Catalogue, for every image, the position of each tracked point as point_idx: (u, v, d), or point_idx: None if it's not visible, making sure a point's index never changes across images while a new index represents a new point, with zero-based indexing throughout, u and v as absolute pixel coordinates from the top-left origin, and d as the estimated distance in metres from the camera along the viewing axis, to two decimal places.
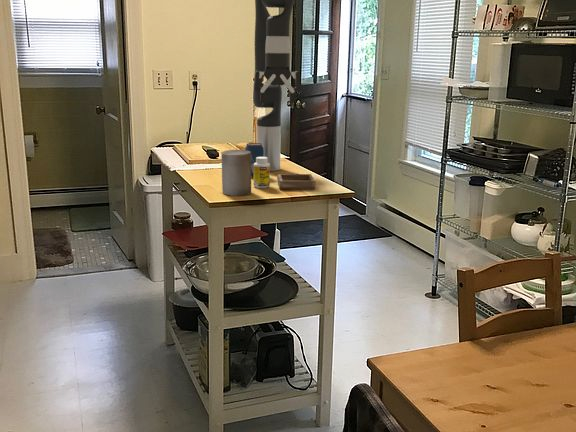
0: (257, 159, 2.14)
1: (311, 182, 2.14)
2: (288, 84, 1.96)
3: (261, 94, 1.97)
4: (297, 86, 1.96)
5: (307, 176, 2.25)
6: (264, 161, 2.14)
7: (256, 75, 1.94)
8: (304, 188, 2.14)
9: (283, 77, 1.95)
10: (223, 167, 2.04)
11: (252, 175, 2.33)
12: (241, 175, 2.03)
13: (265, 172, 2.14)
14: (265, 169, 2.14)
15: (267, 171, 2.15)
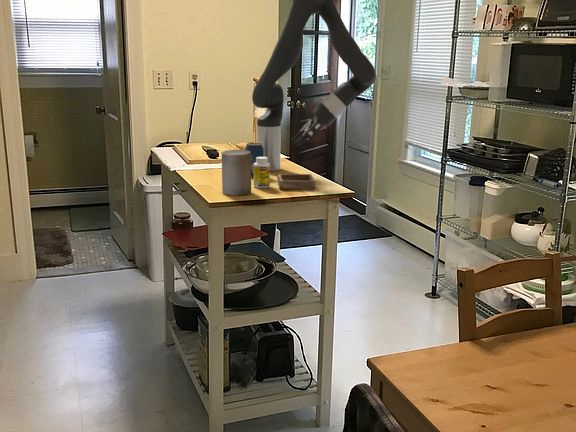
0: (257, 159, 2.14)
1: (311, 182, 2.14)
2: None
3: None
4: None
5: (307, 176, 2.25)
6: (264, 161, 2.14)
7: (319, 129, 2.08)
8: (304, 188, 2.14)
9: None
10: (223, 167, 2.04)
11: (252, 175, 2.33)
12: (241, 175, 2.03)
13: (265, 172, 2.14)
14: (265, 169, 2.14)
15: (267, 171, 2.15)
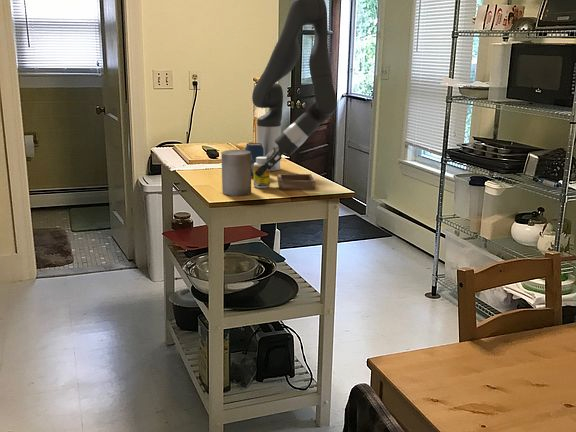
0: (257, 159, 2.14)
1: (311, 182, 2.14)
2: None
3: None
4: None
5: (307, 176, 2.25)
6: (264, 161, 2.14)
7: (278, 160, 2.10)
8: (304, 188, 2.14)
9: None
10: (223, 167, 2.04)
11: (252, 175, 2.33)
12: (241, 175, 2.03)
13: (265, 172, 2.14)
14: None
15: (267, 171, 2.15)
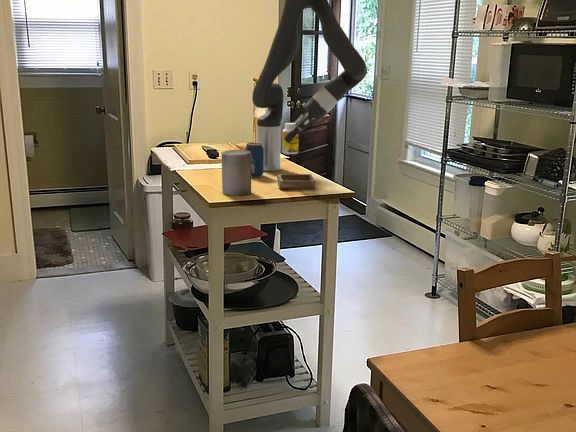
0: (286, 125, 2.13)
1: (311, 182, 2.14)
2: None
3: None
4: None
5: (307, 176, 2.25)
6: (293, 127, 2.12)
7: (308, 125, 2.08)
8: (304, 188, 2.14)
9: None
10: (223, 167, 2.04)
11: (252, 175, 2.33)
12: (241, 175, 2.03)
13: (294, 138, 2.13)
14: None
15: (296, 137, 2.13)
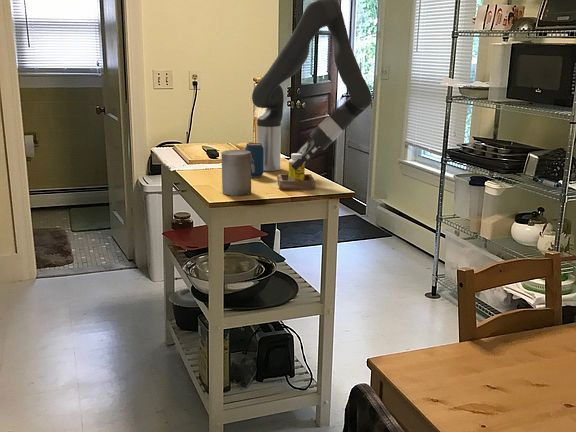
0: (292, 155, 2.16)
1: (311, 182, 2.14)
2: None
3: None
4: None
5: (307, 176, 2.25)
6: (299, 158, 2.16)
7: (315, 153, 2.11)
8: (304, 188, 2.14)
9: None
10: (223, 167, 2.04)
11: (252, 175, 2.33)
12: (241, 175, 2.03)
13: (300, 169, 2.16)
14: (301, 166, 2.16)
15: (302, 168, 2.16)
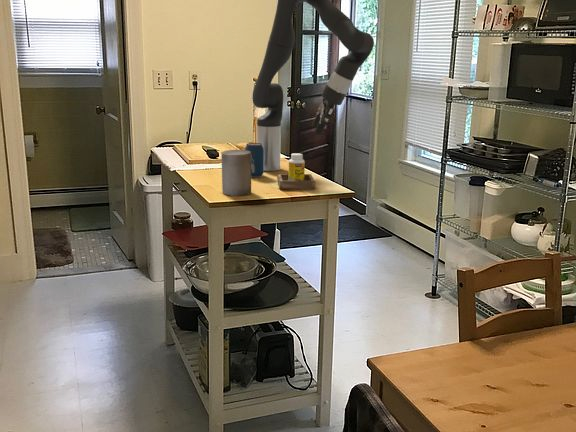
0: (292, 156, 2.16)
1: (311, 182, 2.14)
2: None
3: None
4: None
5: (307, 176, 2.25)
6: (299, 158, 2.16)
7: None
8: (304, 188, 2.14)
9: None
10: (223, 167, 2.04)
11: (252, 175, 2.33)
12: (241, 175, 2.03)
13: (300, 169, 2.16)
14: (300, 166, 2.16)
15: (302, 168, 2.16)
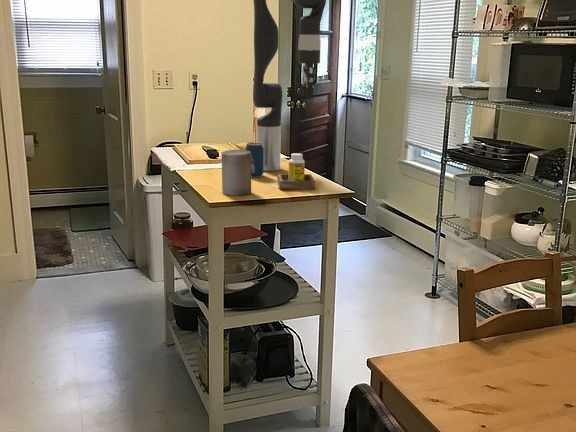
0: (292, 156, 2.16)
1: (311, 182, 2.14)
2: None
3: None
4: None
5: (307, 176, 2.25)
6: (299, 158, 2.16)
7: (314, 71, 2.08)
8: (304, 188, 2.14)
9: None
10: (223, 167, 2.04)
11: (252, 175, 2.33)
12: (241, 175, 2.03)
13: (300, 169, 2.16)
14: (300, 166, 2.16)
15: (302, 168, 2.16)
